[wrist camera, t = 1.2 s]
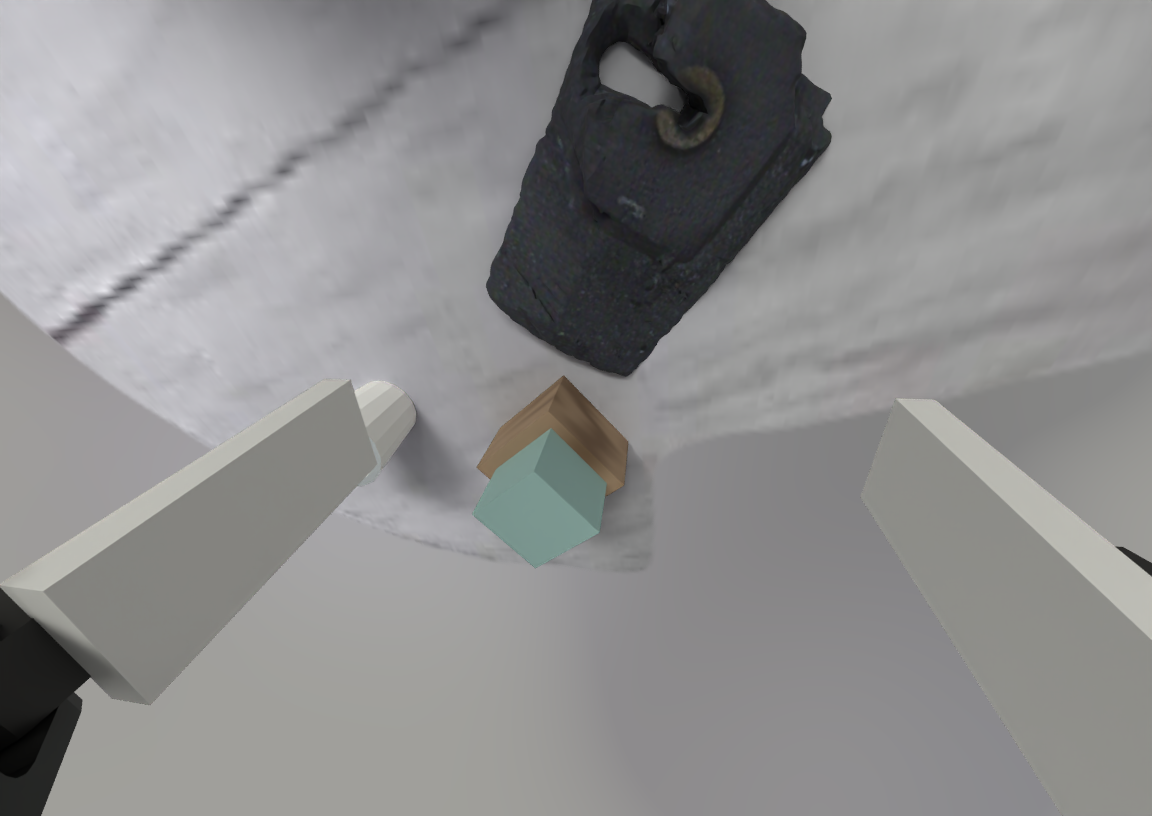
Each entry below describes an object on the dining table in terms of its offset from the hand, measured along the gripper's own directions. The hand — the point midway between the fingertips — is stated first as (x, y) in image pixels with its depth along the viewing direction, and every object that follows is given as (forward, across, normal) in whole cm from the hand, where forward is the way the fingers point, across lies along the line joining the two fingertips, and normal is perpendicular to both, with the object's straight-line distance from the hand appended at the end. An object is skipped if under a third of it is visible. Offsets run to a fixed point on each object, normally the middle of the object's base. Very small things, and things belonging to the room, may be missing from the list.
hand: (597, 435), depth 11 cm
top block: (+16, -6, -14) cm, 22 cm away
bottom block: (+22, -6, -14) cm, 27 cm away
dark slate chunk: (+22, 0, +4) cm, 23 cm away
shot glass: (+22, -22, -12) cm, 33 cm away
